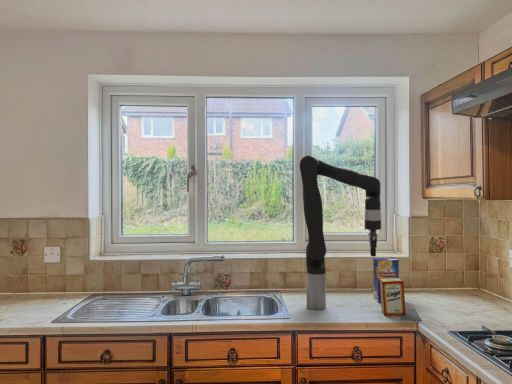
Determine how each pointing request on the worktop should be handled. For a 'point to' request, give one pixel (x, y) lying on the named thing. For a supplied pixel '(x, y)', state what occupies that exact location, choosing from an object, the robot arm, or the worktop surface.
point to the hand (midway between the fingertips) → (373, 255)
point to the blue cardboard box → (384, 273)
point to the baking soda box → (392, 296)
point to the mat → (410, 315)
